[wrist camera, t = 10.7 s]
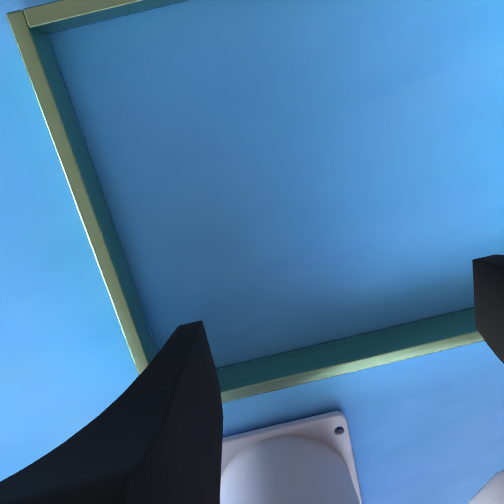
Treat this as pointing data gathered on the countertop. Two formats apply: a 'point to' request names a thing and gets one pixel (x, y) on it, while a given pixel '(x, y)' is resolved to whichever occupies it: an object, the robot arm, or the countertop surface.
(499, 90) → the countertop surface
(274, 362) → the baking frame
